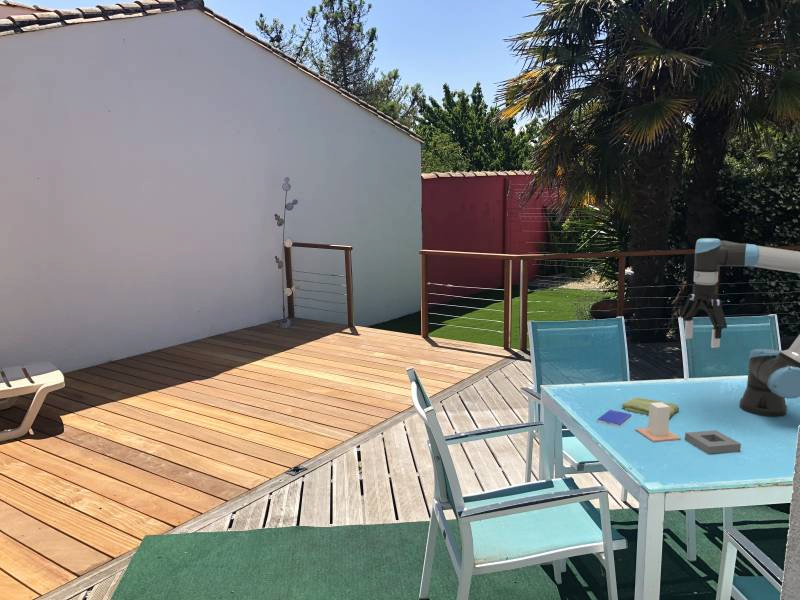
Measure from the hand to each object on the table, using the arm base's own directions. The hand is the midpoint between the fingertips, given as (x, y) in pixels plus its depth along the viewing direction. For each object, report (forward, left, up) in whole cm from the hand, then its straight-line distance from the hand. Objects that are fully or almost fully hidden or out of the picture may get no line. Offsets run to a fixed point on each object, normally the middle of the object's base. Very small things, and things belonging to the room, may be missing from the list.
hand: (701, 342), depth 210 cm
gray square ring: (+10, +22, -28) cm, 37 cm away
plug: (+22, +11, -27) cm, 37 cm away
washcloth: (+11, -11, -29) cm, 33 cm away
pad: (+22, +11, -28) cm, 38 cm away
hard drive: (+29, -5, -29) cm, 41 cm away
